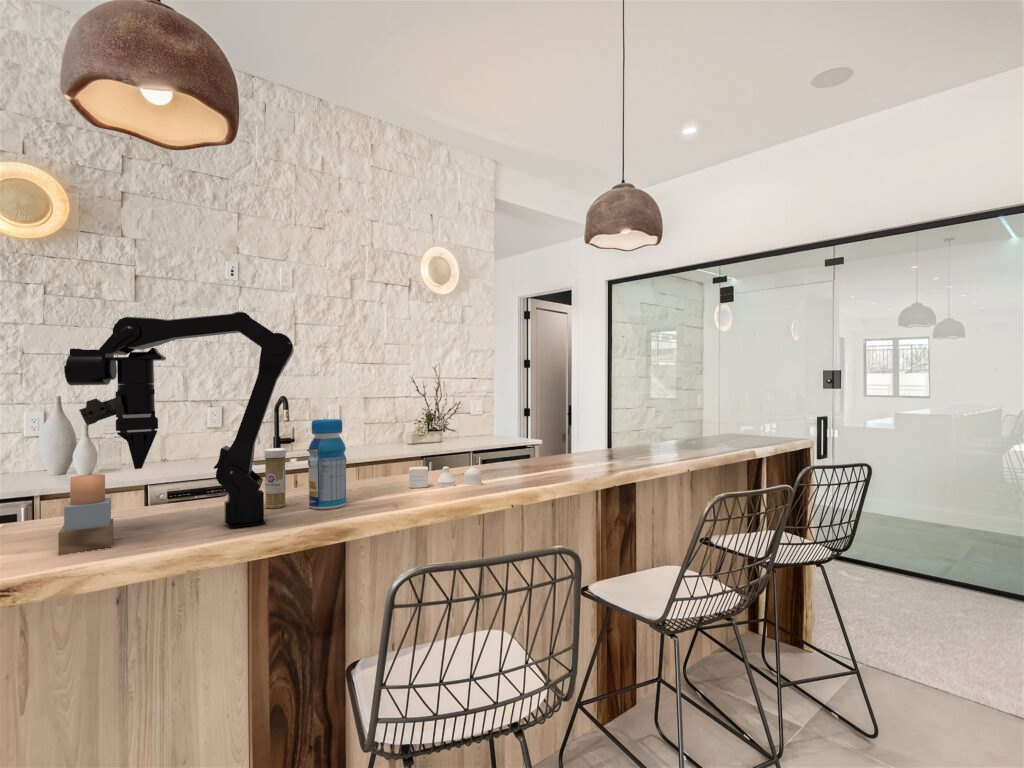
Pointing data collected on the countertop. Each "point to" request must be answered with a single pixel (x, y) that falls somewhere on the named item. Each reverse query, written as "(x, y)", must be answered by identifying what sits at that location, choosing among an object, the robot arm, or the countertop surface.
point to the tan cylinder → (87, 489)
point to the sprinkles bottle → (275, 477)
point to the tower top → (87, 515)
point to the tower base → (85, 539)
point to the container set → (442, 477)
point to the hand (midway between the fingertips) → (138, 466)
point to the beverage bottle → (327, 465)
